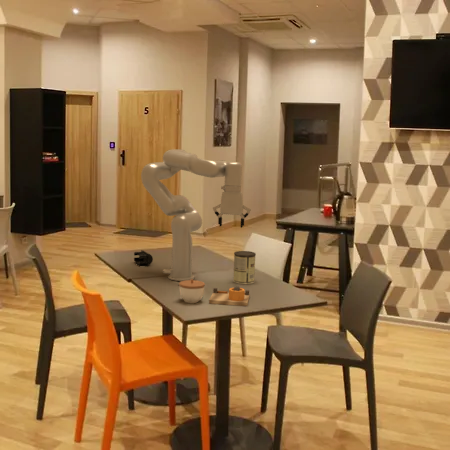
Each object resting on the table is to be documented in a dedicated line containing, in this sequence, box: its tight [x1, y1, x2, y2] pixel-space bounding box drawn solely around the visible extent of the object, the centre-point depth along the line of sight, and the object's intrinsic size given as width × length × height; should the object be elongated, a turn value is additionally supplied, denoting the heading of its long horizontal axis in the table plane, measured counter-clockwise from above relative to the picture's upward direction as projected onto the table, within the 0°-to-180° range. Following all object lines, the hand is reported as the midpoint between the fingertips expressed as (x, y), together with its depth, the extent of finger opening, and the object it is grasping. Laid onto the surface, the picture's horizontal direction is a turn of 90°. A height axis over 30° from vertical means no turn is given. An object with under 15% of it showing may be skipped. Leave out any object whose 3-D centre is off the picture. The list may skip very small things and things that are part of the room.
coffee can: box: [233, 250, 256, 285], centre depth 306 cm, size 10×10×14 cm
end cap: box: [133, 249, 154, 267], centre depth 335 cm, size 10×7×7 cm
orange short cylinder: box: [228, 287, 246, 301], centre depth 270 cm, size 6×6×4 cm
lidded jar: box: [178, 279, 206, 304], centre depth 269 cm, size 11×11×9 cm
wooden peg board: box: [208, 286, 251, 307], centre depth 272 cm, size 16×14×6 cm
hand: (231, 226), depth 291 cm, fingers open, 9 cm apart
